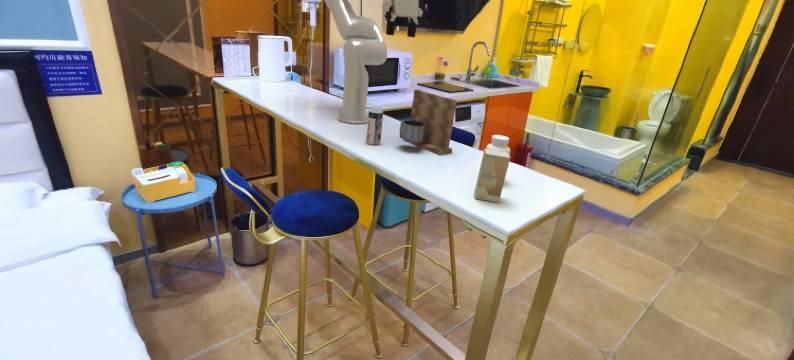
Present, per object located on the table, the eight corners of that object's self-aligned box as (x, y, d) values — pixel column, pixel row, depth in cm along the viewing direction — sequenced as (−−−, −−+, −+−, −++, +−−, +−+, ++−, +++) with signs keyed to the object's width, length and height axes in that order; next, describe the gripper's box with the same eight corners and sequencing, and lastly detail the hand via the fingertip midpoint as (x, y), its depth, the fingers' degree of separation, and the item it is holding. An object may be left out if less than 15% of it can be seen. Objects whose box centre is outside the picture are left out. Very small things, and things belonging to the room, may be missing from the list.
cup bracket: (383, 142, 132) (389, 90, 126) (414, 138, 142) (421, 89, 135) (420, 159, 120) (428, 102, 114) (451, 153, 130) (460, 100, 123)
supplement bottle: (481, 173, 114) (490, 132, 110) (504, 179, 112) (514, 136, 108) (477, 180, 109) (487, 137, 104) (501, 186, 107) (511, 142, 102)
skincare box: (474, 199, 96) (483, 153, 92) (473, 192, 100) (483, 147, 96) (500, 203, 96) (511, 157, 91) (498, 196, 100) (509, 151, 95)
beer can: (378, 146, 128) (381, 110, 123) (364, 144, 129) (367, 108, 124) (381, 142, 132) (385, 108, 128) (368, 140, 133) (371, 106, 129)
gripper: (416, -18, 128) (410, 36, 134) (377, -27, 116) (373, 33, 122) (433, -18, 123) (426, 38, 129) (394, -28, 111) (389, 35, 118)
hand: (400, 36), depth 126 cm, fingers open, 9 cm apart
